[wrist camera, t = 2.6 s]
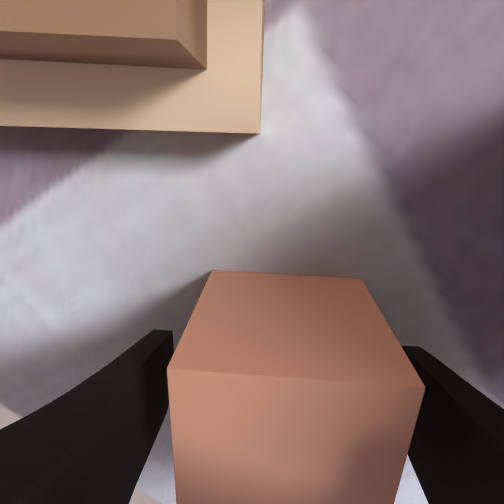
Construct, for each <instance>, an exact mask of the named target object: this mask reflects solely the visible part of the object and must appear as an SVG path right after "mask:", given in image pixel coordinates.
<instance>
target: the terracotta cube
mask: <svg viewBox="0 0 504 504" xmlns="http://www.w3.org/2000/svg"><path fill="white" fill-rule="evenodd" d="M167 378H168V392H169V406H170V419H171V433H172V447H173V461H174V474H175V488H176V502H177V504H394V501H395V497H396V494H397V490H398V486H399V483H400V479H401V475H402V472H403V468H404V464H405V461H406V457H407V453H408V450H409V446H410V442H411V439H412V435H413V431H414V428H415V424H416V420H417V417H418V413H419V409H420V406H421V402H422V398H423V395H424V391H425V386H424V384H423V382H422V381H421V379H420V377H419V376H418V374H417V372H416V370H415V369H414V367H413V365H412V364H411V362H410V360H409V359H408V357H407V355H406V353H405V352H404V350H403V348H402V347H401V345H400V343H399V341H398V340H397V338H396V336H395V335H394V333H393V331H392V330H391V328H390V326H389V324H388V323H387V321H386V319H385V318H384V316H383V314H382V312H381V311H380V309H379V307H378V306H377V304H376V302H375V300H374V299H373V297H372V295H371V294H370V292H369V290H368V289H367V287H366V285H365V283H364V282H363V280H362V278H345V277H327V276H309V275H291V274H273V273H256V272H238V271H220V270H212V271H211V273H210V275H209V278H208V280H207V282H206V284H205V286H204V289H203V291H202V293H201V295H200V297H199V299H198V302H197V304H196V306H195V308H194V310H193V313H192V315H191V317H190V319H189V321H188V323H187V326H186V328H185V330H184V332H183V334H182V337H181V339H180V341H179V343H178V345H177V347H176V350H175V352H174V354H173V356H172V358H171V361H170V363H169V365H168V367H167Z"/></svg>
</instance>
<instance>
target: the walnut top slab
mask: <svg viewBox="0 0 504 504" xmlns="http://www.w3.org/2000/svg"><path fill="white" fill-rule="evenodd" d="M0 59H10V60H30V61H49V62H68V63H87V64H107V65H126V66H145V67H164V68H184V69H203V70H207V0H0Z"/></svg>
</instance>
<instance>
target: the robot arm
mask: <svg viewBox="0 0 504 504" xmlns="http://www.w3.org/2000/svg"><path fill="white" fill-rule="evenodd" d="M401 347H402V348H403V350H404V352H405V353H406V355H407V357H408V359H409V360H410V362H411V364H412V365H413V367H414V369H415V370H416V372H417V374H418V376H419V377H420V379H421V381H422V382H423V384H424V386H425V391H424V395H423V398H422V402H421V406H420V409H419V413H418V417H417V420H416V424H415V428H414V431H413V435H412V439H411V442H410V446H409V450H408V453H407V454H408V456H409V459H410V461H411V463H412V466H413V468H414V470H415V473H416V475H417V477H418V480H419V482H420V484H421V487H422V489H423V491H424V494H425V496H426V498H427V501H428V503H429V504H504V409H503V408H501V407H500V406H499V405H497V404H496V403H495V402H493V401H492V400H490V399H489V398H488V397H486V396H485V395H484V394H482V393H481V392H479V391H478V390H477V389H475V388H474V387H473V386H472V385H470V384H469V383H468V382H466V381H465V380H464V379H462V378H461V377H460V376H458V375H457V374H456V373H454V372H453V371H452V370H451V369H449V368H448V367H447V366H445V365H444V364H443V363H441V362H440V361H439V360H437V359H436V358H435V357H434V356H432V355H431V354H429V353H428V352H427V351H425V350H424V349H422V348H421V347H414V346H401ZM173 354H174V347H173V331H168V330H153V331H151V332H150V333H149V334H147V335H146V336H145V337H143V338H142V339H141V340H140V341H138V342H137V343H136V344H134V345H133V346H132V347H131V348H129V349H128V350H127V351H125V352H124V353H123V354H121V355H120V356H119V357H117V358H116V359H115V360H113V361H112V362H111V363H109V364H108V365H107V366H105V367H104V368H102V369H101V370H100V371H98V372H97V373H95V374H94V375H92V376H91V377H89V378H88V379H87V380H85V381H84V382H82V383H81V384H79V385H78V386H76V387H75V388H73V389H72V390H70V391H69V392H67V393H65V394H64V395H62V396H61V397H59V398H57V399H56V400H54V401H52V402H51V403H49V404H47V405H45V406H44V407H42V408H40V409H38V410H37V411H35V412H33V413H31V414H30V415H28V416H26V417H24V418H22V419H20V420H18V421H16V422H14V423H12V424H10V425H8V426H6V427H4V428H2V429H1V430H0V504H129V501H130V499H131V496H132V494H133V491H134V489H135V486H136V483H137V481H138V479H139V476H140V474H141V472H142V469H143V467H144V465H145V462H146V460H147V458H148V455H149V453H150V451H151V448H152V446H153V444H154V441H155V439H156V437H157V434H158V432H159V430H160V427H161V425H162V422H163V420H164V418H165V415H166V413H167V410H168V407H169V392H168V378H167V367H168V365H169V363H170V361H171V358H172V356H173Z"/></svg>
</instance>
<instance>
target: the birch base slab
mask: <svg viewBox="0 0 504 504" xmlns="http://www.w3.org/2000/svg"><path fill="white" fill-rule="evenodd" d="M264 13H265V0H207V70H203V69H184V68H164V67H145V66H126V65H107V64H87V63H68V62H49V61H30V60H10V59H0V126H27V127H60V128H93V129H126V130H159V131H192V132H225V133H260V128H261V99H262V71H263V42H264Z"/></svg>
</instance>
